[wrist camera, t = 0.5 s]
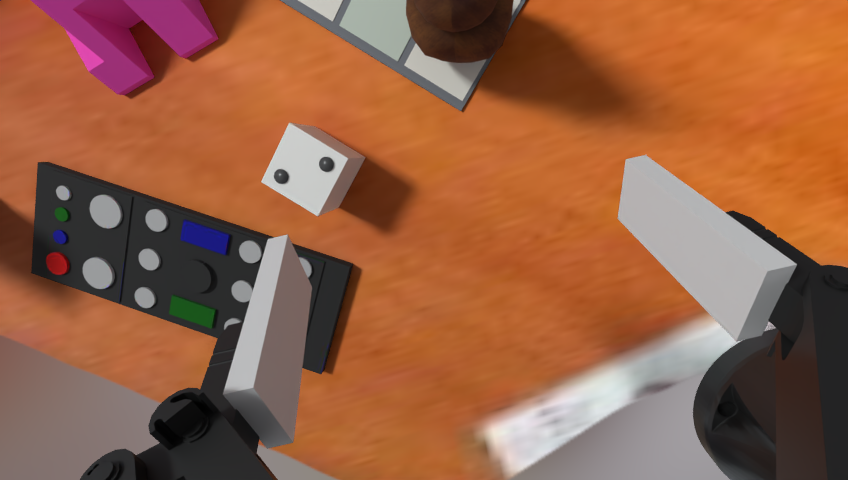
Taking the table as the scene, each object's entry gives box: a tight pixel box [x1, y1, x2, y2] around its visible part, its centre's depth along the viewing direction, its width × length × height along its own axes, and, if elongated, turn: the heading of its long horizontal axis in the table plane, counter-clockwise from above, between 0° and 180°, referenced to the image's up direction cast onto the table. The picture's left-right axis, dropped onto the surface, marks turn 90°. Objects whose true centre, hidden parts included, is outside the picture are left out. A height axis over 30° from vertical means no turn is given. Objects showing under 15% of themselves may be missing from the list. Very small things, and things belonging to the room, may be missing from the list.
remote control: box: [31, 162, 353, 374], centre depth 38 cm, size 11×30×2 cm, turn 73°
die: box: [261, 123, 366, 216], centre depth 33 cm, size 5×5×5 cm
